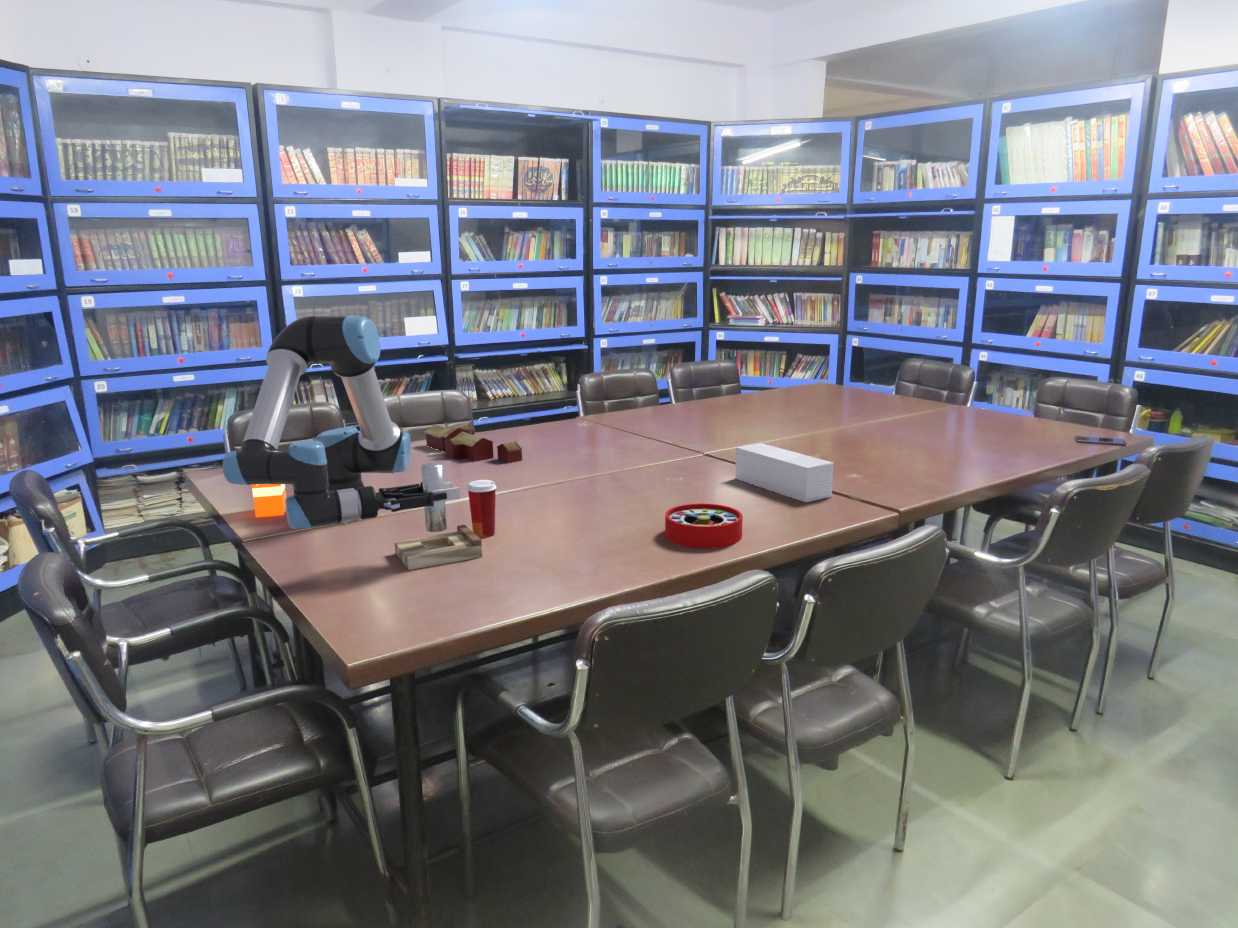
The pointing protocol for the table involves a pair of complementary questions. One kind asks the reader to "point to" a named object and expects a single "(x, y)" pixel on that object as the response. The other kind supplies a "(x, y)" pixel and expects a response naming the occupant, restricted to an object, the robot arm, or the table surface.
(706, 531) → the toy clock
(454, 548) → the frame
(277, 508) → the orange juice
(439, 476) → the brushed metal cylinder
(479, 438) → the toy houses
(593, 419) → the table surface
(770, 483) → the stack of papers
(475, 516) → the paper cup
